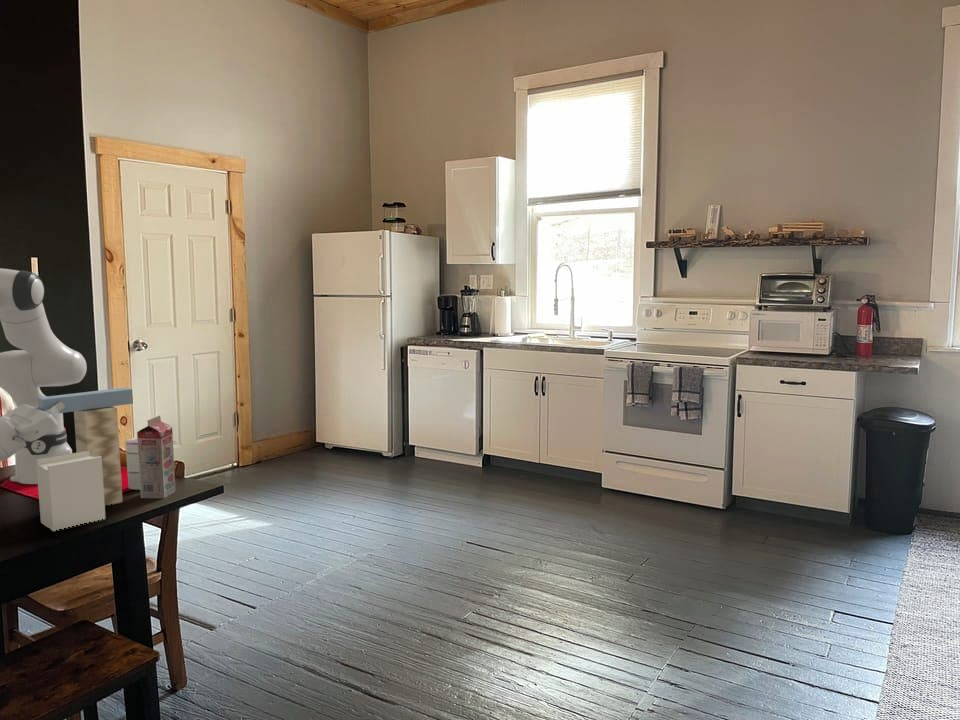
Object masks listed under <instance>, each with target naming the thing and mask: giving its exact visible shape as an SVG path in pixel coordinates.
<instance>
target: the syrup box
mask: <svg viewBox="0 0 960 720" xmlns="http://www.w3.org/2000/svg"><path fill="white" fill-rule="evenodd" d="M124 443H125V453H126V454H125V455H126V468H127V470H126V471H127V482H128V489H130V490H135V491H137V490H139V491H140V474H139V456H138V439H137V436H136V437H133V438H131V439H128V440H126V441H124Z"/></svg>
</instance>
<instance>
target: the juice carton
mask: <svg viewBox="0 0 960 720" xmlns="http://www.w3.org/2000/svg"><path fill="white" fill-rule="evenodd" d="M161 419H162V418H161V415H158V416H154V417H152V418H150V419H148V420H147V426H144V427H143V428H142V429H139V430H138V431H137V432H136V433H137V434H136V435H137V436H136V437H137V439H138V456H139V474H140V490H139V491H140V499H165V497H166V498H167V497H169V496H170V495H172V494H173V493H175V492H176V480H175V479H176V478H175V477H176V476H175V473H176V472H175V456H174V434H173V426H171V425H170V424H167V423H166V422H163V421H162V420H161ZM163 491H164V493H163ZM168 495H169V496H168Z"/></svg>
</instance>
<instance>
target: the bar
mask: <svg viewBox="0 0 960 720" xmlns="http://www.w3.org/2000/svg"><path fill="white" fill-rule="evenodd" d="M46 396H47V395H46ZM57 402H62V403H63V404H64V405H65V408H63V409H62V410H61V411H59V413H63V414H64V413H71V412H73V413H74V411H80V410H88V409H96V408H103V407H111V406H112V407H116V406H117V407H118V406H126V405H133V404H134V398H133V389H132V388H129V387H118V388H109V389H101V390H93V391H92V390H91V391H85V392H75V393H65V394H59V395H49V396H47V397H39V398H38V409H40V410H42V411H46V410H48V409H50V408H52V407H53V406H54V404H56V403H57Z"/></svg>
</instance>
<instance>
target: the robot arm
mask: <svg viewBox="0 0 960 720" xmlns="http://www.w3.org/2000/svg"><path fill="white" fill-rule="evenodd" d="M44 297H45V285H44V282H43V279H42V278H41V277H40V276H38V274H37V273H35V272H31V271H28V270H17V269H10V268H1V267H0V323H1V327H2V329H3V333H4V337H5V338H6V340H7V341H8V343H9V344H11V345H12V346H14V347H15V348H18V349H17V350H14V349H13V350H9V351H2V352H0V388H1V389H2V390H3V391H5V392H6V393H7V394H8V395H9V396H10V397H11V398H12V400H13V401H14V403H15V406H16V407H15V408H14V409H12V410H10V411H8V412H7V413H5V414H3V415H2V416H0V463H1V462H3V461H6V460H8V459H9V458H11V457H12V456H14V455H15V458H14V459H15V461H14V462H15V463H14V464H15V465H14V466H15V474H14V475H12V476H10V478H9V480H10V482H16V483H19V484H22V485H23V484H24V485H38V478H37V464H36V459H42V458H48V457H54V456H60V455H66V454H72V453H73V449H72V448H71V446H70V445H69V443H68V442H67V441H68V438H67V436H68V435H67V431H66V430H67V429H66V427H65V426H64V413H59V411H61V410H62V409H63V408H65V405H64V404H63V403H62V402H57V403H56V404H54V406H53V407H52V408H50V409H48V410H46V411H42V410H40V409H38V398H39V397H47V395H45V394H44V393H43V392H42V390H41V388H43V387H44V388H45V387H64V386H70V385H75V384H78V383H80V382H81V381H82V380H83V379H84V377H85V376H86V373H87V367H88V366H87V362H86V358H85V357H84V356H83V354H82V353H80V352H79V351H77V350H74V349H73V348H70V346H67V345H66V344H65V343H63V342H62V341H61V340H60V339H59V338H57V336H56V335H55V334H54V332H53V331H52V329H51V326H50V323H49V320H48V318H47V315H46V310H45V307H44V304H43V301H44Z"/></svg>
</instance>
